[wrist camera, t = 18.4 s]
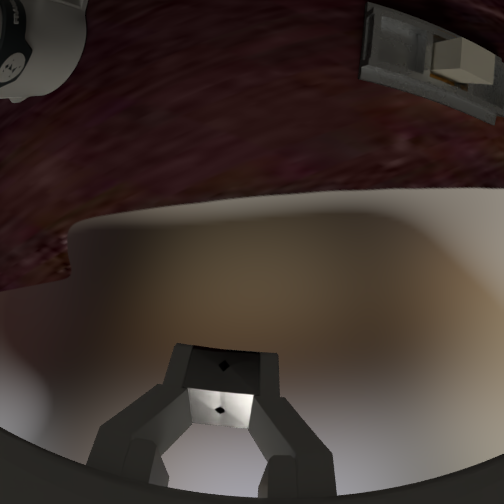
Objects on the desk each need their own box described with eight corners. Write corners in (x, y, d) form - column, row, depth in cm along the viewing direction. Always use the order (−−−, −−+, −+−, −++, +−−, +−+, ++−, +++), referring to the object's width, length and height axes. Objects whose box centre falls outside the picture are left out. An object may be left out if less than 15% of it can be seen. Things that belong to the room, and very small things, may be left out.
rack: (357, 79, 30) (366, 77, 27) (365, 3, 25) (374, -5, 22) (490, 124, 30) (505, 128, 26) (497, 58, 25) (512, 58, 22)
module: (424, 70, 27) (460, 68, 20) (426, 44, 25) (462, 37, 18) (454, 82, 27) (493, 84, 20) (457, 57, 25) (495, 54, 18)
